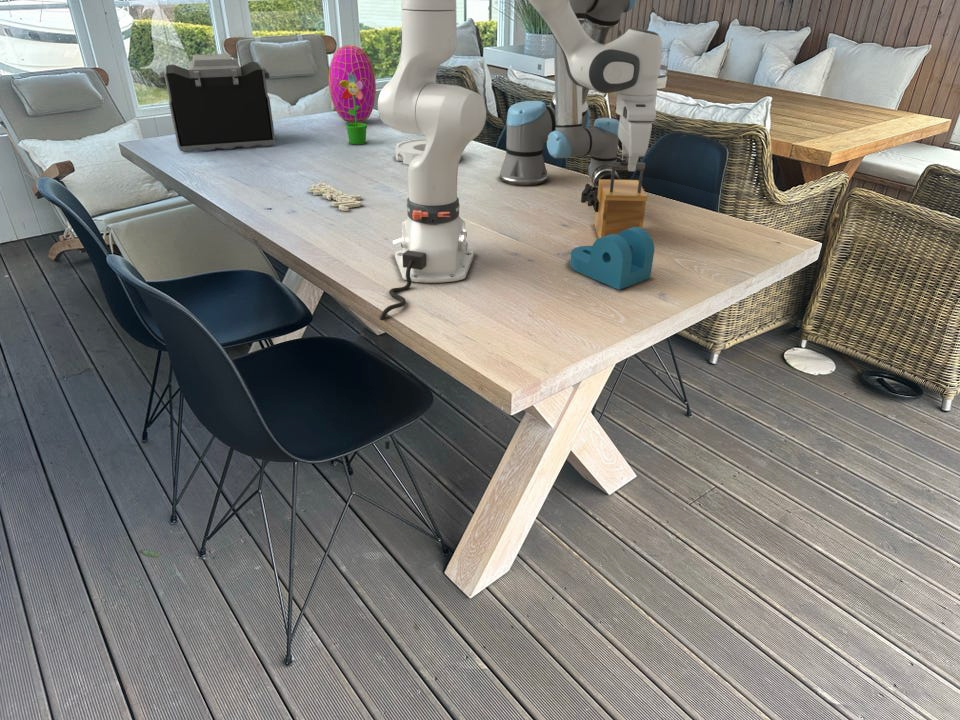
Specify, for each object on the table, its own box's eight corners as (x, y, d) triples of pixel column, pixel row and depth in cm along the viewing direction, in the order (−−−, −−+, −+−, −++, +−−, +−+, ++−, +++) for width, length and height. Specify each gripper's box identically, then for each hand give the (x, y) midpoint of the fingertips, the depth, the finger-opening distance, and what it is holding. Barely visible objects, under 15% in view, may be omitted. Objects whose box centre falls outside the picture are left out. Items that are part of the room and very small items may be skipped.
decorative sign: (374, 202, 196) (343, 208, 191) (374, 205, 197) (343, 211, 191) (331, 180, 214) (301, 186, 209) (332, 183, 215) (302, 189, 209)
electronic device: (273, 133, 274) (261, 51, 258) (280, 146, 256) (268, 58, 241) (174, 140, 262) (156, 54, 247) (174, 153, 244) (155, 62, 229)
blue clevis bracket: (650, 277, 154) (656, 233, 149) (619, 289, 148) (624, 243, 143) (591, 254, 166) (595, 212, 161) (560, 264, 160) (563, 221, 155)
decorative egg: (362, 116, 305) (357, 42, 290) (386, 123, 292) (382, 46, 277) (324, 121, 294) (316, 45, 279) (347, 129, 281) (340, 49, 266)
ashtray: (454, 167, 232) (454, 155, 230) (388, 164, 235) (387, 152, 233) (466, 151, 252) (466, 140, 250) (404, 148, 255) (404, 137, 253)
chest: (640, 243, 173) (646, 200, 168) (600, 242, 174) (604, 199, 168) (632, 226, 184) (637, 184, 179) (594, 225, 185) (598, 184, 179)
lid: (647, 201, 167) (651, 165, 163) (605, 200, 167) (609, 165, 163) (637, 184, 179) (641, 151, 174) (598, 184, 179) (601, 150, 175)
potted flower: (342, 144, 260) (336, 73, 247) (351, 139, 266) (346, 70, 254) (365, 146, 257) (360, 74, 245) (374, 141, 264) (369, 71, 251)
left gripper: (615, 97, 167) (609, 155, 174) (628, 114, 150) (621, 177, 157) (641, 98, 167) (634, 155, 174) (657, 115, 150) (649, 178, 157)
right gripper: (644, 196, 199) (659, 222, 179) (566, 195, 199) (573, 220, 180) (648, 170, 195) (664, 193, 176) (568, 169, 195) (575, 192, 176)
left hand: (628, 166), depth 165 cm, fingers open, 6 cm apart
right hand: (618, 207), depth 178 cm, fingers closed on chest, 10 cm apart
